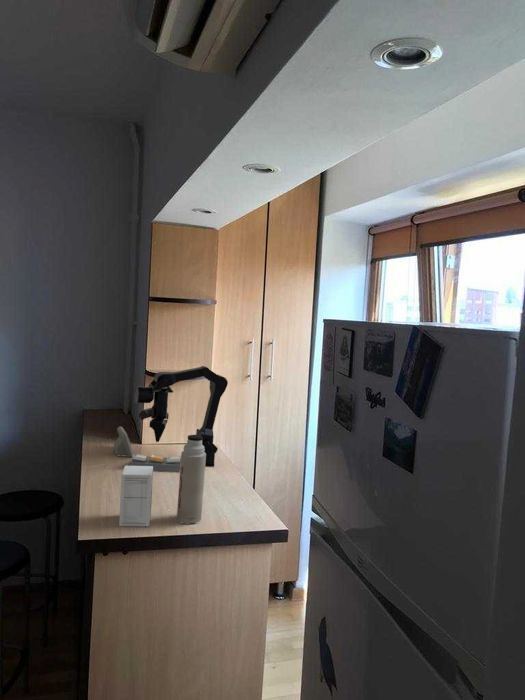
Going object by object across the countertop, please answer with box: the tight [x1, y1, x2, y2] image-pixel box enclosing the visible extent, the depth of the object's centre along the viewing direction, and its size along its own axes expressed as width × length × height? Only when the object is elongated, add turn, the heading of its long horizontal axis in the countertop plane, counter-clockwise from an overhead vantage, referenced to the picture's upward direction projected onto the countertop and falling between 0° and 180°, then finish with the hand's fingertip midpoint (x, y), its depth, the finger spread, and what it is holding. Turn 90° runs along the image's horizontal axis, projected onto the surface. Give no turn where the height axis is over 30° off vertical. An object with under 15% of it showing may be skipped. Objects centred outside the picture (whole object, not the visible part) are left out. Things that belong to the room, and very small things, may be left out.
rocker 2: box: [166, 455, 181, 462], centre depth 229 cm, size 5×3×1 cm, turn 95°
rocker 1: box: [131, 453, 146, 461], centre depth 228 cm, size 5×3×1 cm, turn 95°
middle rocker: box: [149, 454, 164, 462], centre depth 229 cm, size 5×3×1 cm, turn 95°
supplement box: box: [118, 465, 154, 528], centre depth 176 cm, size 10×9×17 cm
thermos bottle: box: [176, 434, 206, 524], centre depth 180 cm, size 8×8×28 cm
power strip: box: [130, 455, 181, 474], centre depth 231 cm, size 20×10×3 cm, turn 95°
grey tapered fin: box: [113, 426, 135, 458], centre depth 247 cm, size 16×9×11 cm, turn 12°
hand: (158, 439), depth 230 cm, fingers open, 7 cm apart
